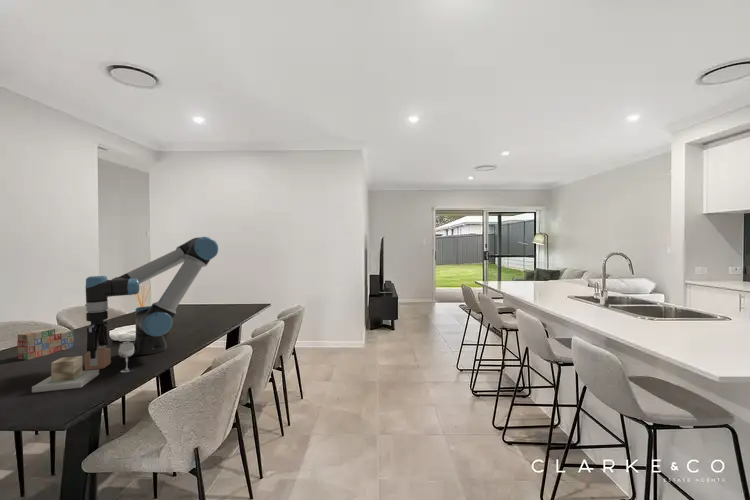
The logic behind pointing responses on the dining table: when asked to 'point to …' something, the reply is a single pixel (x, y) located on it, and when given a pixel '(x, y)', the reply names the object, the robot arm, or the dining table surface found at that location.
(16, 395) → the dining table surface
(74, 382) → the base plate
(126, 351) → the wineglass
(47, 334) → the stack of blocks
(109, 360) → the terracotta block
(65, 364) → the maple block
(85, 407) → the dining table surface
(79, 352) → the dining table surface
